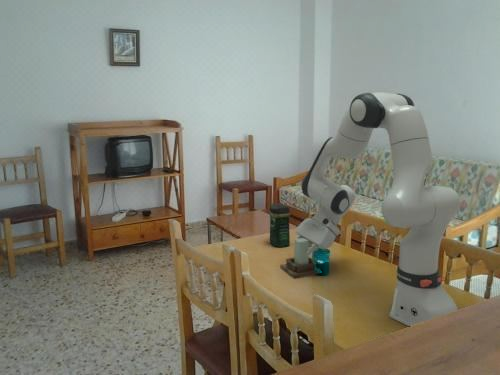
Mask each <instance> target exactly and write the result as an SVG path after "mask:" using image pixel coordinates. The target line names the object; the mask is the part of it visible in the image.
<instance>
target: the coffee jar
mask: <svg viewBox="0 0 500 375" xmlns="http://www.w3.org/2000/svg"><path fill="white" fill-rule="evenodd" d="M290 212H291V210H290V206H288V205H285V204H283V203H280V202H275V203H271V205H269V243H270V244H271V245H272V246H273V247H277V248H279V247H280V248H285V247H288V246H290V243H291V242H290V241H291V239H290V215H291V213H290Z"/></svg>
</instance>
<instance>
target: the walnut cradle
mask: <svg viewBox="0 0 500 375" xmlns="http://www.w3.org/2000/svg"><path fill="white" fill-rule="evenodd" d="M313 260H314V259H313V258H312V257H309V264H303V265H296V264H295V263H294V257H289V258H286V260H285V263H282V264H280V265H279V268H280V270H281V269H282V271H284V272H286V273H287V274H288V275H289V276H291V277H292V278H293V279H294V280H295V279H299V278H300V279H301V278H307V277H312V276H316V274H317V271H314V269H315V264H314V263H313ZM317 275H318V274H317Z"/></svg>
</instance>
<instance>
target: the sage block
mask: <svg viewBox="0 0 500 375" xmlns="http://www.w3.org/2000/svg"><path fill="white" fill-rule="evenodd" d="M293 244H294V245H293V249H294V250H293V251H294V252H293V256H294V257H293V258H294V263H295V264H296V265H303V264H309V258H310V257H309V256H310V255H308V254H306V253H305V251H306V249H307V248H308V249H309V248H310V246H309V241H308V240H306V239H305V238H299V239H296V238H294V239H293Z"/></svg>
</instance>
